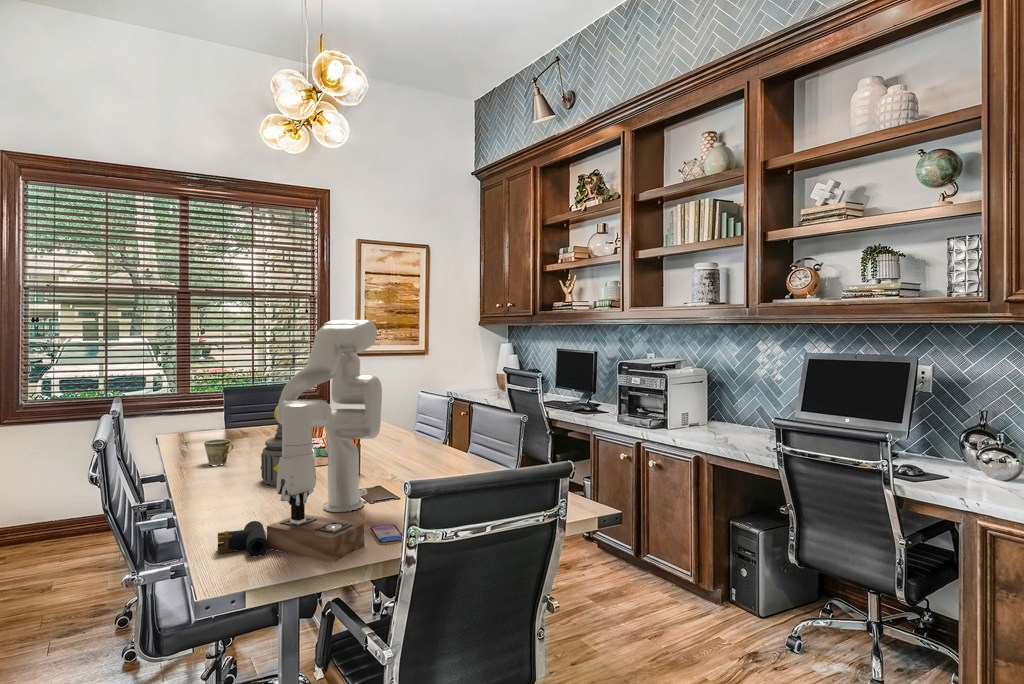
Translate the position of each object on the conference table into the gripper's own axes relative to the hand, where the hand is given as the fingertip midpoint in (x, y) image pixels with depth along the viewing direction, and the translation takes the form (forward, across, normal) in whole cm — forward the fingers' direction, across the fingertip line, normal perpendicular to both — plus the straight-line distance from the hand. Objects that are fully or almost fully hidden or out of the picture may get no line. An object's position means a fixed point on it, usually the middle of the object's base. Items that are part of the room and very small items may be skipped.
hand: (297, 519), depth 163 cm
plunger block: (+7, 0, +6) cm, 9 cm away
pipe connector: (+7, +8, -11) cm, 16 cm away
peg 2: (+7, 0, +12) cm, 14 cm away
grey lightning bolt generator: (+6, -51, -55) cm, 76 cm away
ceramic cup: (+6, -59, -101) cm, 117 cm away
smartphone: (+7, -16, +17) cm, 25 cm away
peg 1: (+6, 0, 0) cm, 6 cm away
